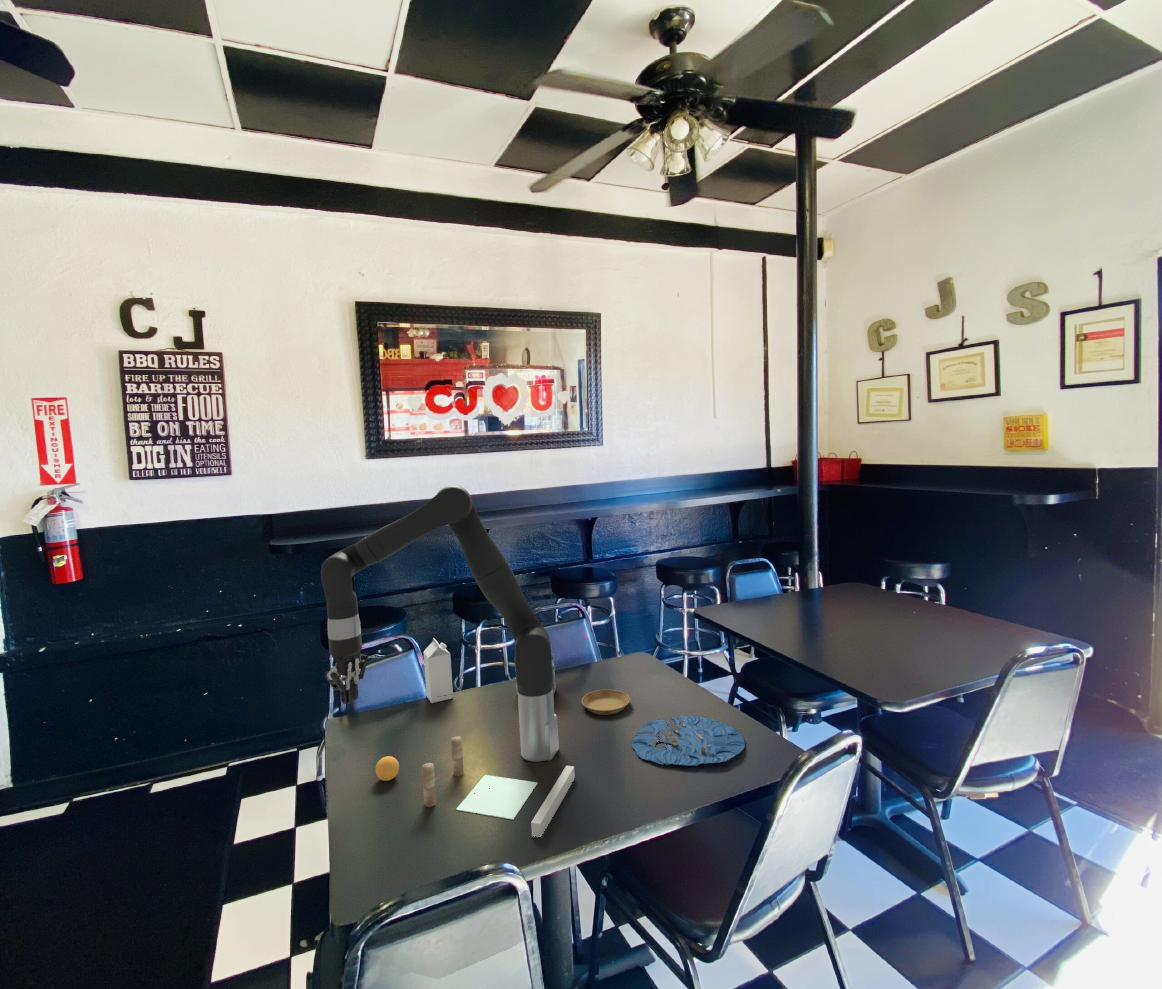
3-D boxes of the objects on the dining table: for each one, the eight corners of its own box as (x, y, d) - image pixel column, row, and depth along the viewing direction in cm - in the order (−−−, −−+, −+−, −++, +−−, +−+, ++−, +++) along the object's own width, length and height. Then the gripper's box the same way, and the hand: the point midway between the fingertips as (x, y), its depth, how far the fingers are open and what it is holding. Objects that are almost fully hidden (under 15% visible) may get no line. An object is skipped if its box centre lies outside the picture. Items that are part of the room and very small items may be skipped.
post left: (438, 801, 134) (435, 763, 133) (432, 808, 132) (429, 769, 131) (428, 799, 135) (426, 762, 134) (422, 806, 133) (419, 768, 132)
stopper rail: (574, 778, 141) (574, 766, 141) (540, 838, 120) (540, 824, 120) (566, 777, 141) (566, 765, 141) (531, 836, 121) (531, 822, 120)
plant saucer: (574, 715, 174) (574, 707, 174) (591, 694, 188) (591, 687, 188) (622, 721, 169) (621, 713, 169) (635, 700, 183) (635, 692, 183)
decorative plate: (610, 740, 162) (608, 722, 161) (696, 712, 175) (695, 695, 175) (673, 789, 135) (672, 767, 135) (769, 751, 149) (768, 732, 149)
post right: (465, 771, 146) (463, 736, 145) (460, 777, 144) (458, 742, 143) (456, 770, 147) (454, 735, 146) (451, 775, 144) (448, 740, 144)
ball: (404, 774, 146) (402, 753, 146) (390, 786, 141) (389, 765, 140) (385, 771, 148) (384, 750, 147) (371, 783, 143) (369, 762, 142)
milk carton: (431, 704, 186) (427, 646, 185) (426, 696, 192) (422, 639, 191) (453, 698, 189) (449, 641, 188) (447, 691, 196) (443, 635, 194)
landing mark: (537, 783, 139) (537, 782, 139) (513, 819, 126) (513, 819, 126) (485, 775, 144) (485, 774, 144) (456, 810, 131) (456, 809, 131)
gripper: (337, 643, 136) (343, 715, 138) (375, 625, 150) (380, 691, 151) (311, 642, 139) (317, 712, 140) (351, 624, 152) (356, 688, 153)
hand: (350, 701), depth 146 cm, fingers closed
